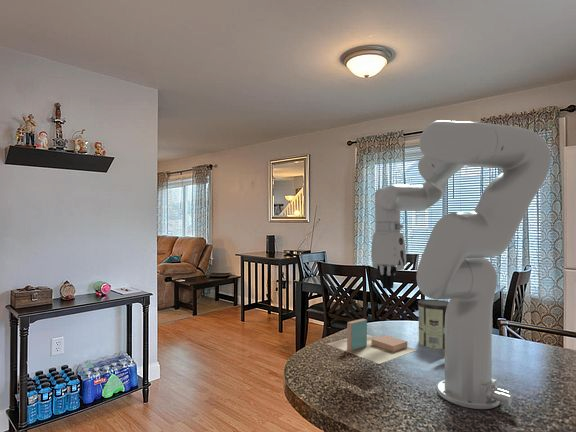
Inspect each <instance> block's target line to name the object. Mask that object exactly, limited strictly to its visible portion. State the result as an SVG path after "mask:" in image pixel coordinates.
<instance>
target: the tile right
mask: <svg viewBox="0 0 576 432" xmlns="http://www.w3.org/2000/svg"><path fill="white" fill-rule="evenodd" d="M376 337H377V336H376ZM371 344H372V345H374V346H377V347H380V348H383V349H386V350H389V351H392V352H395V351H398V350H401V349H404V348H406V347H408V341H407V340H404V339H400V338H398V337H393V336H390V335H386V334H384V335H381V336H378V337H377V338H374V339H371Z"/></svg>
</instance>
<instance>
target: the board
mask: <svg viewBox="0 0 576 432" xmlns="http://www.w3.org/2000/svg"><path fill="white" fill-rule="evenodd" d="M374 338H377V336H374V335H370V334H367V346H366V347H362V348H359V349H356V350H353V351H350V350H347V338H344V339H340V340H337V341H332V342H329V343H326V345H327V346H331V347H333V348H335V349H338V350H341V351H344V352H346V353H348V354H349V353H350V354H351V355H354V356H356V357H360V358H362V359H365V360H367V361H370V362H373V363H375V364H378V365H380V364H383V363H387V362H388V361H391V360H394V359H397V358H399V357H402V356H405V355H408V354H410V353H413V352H416V351H417V349H416V348H413V347H409V346H407V347H406V348H404V349H401V350H398V351H395V352H392V351H389V350H386V349H383V348H380V347H377V346H374V345H372V344H371V339H374Z"/></svg>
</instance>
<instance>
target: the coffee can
mask: <svg viewBox="0 0 576 432" xmlns="http://www.w3.org/2000/svg"><path fill="white" fill-rule="evenodd" d="M448 303H449V301H447V300H444V299H431V298H429V299H428V298H427V299H420V300H418V301H417V304H418V344H419V345H421V346H423V347H426V348H430V349H436V350H445V313H446V308H447V306H448Z"/></svg>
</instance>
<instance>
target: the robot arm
mask: <svg viewBox="0 0 576 432" xmlns="http://www.w3.org/2000/svg"><path fill="white" fill-rule="evenodd" d="M419 149H420V151H421V153H422V154H423V156H422V157H420V159H419V160H418V164H417V169H418V172H419V174H420V176H421V178H422V179H423V180H424V181H425V182H424V183H422V184H421V185H415V184H414V185H413V184H411V185H410V184H390V185H388V186H386V187H383V188H382V187H381V188H379V189H376V190H375V192H374V232H373V235H372V241H371V250H370V251H371V254H370V256H371V259H370V260H371V262H372V267H373V268H374V269H376V270H378V272H379V273H380V275H381V279H382V280H381V282H382V283H381V284H382V289H386V290H388V289H389V290H391V289H393V288H394V284H395V283H394V281H395V280H394V279H395V278H394V277H395V275H396V273H397V272H398V271H403V270H404V269H405V266H404V265H406V264H407V249H406V243H405V242H406V241H405V236H404V233H403V232H401V230H403V229H404V224H403V223H402V224H401V212H404V211H406V212H407V211H408V212H409V211H410V212H411V211H412V212H422V211H425V210H427V209H429V208H430V207H432V206H435V204H437V203H438V202H439V201H440V200H441V199H442V198H443V196H444V195H445V192H446V190H447V183H448V180H449V179H450V178H452V177H453V176H454V175H455V174H456V173H458V172H459V171H460V170H461V169H463V168H464V167H465V166H467V167H475V168H476V167H477V168H478V167H480V168H490V169H491V168H492V169H501V172H500V173H499V174H498V175H497V176H496V177H495V178H493V180H492V181H490V183H489V184H488V185H487V186H486V187H485V189H484V190H483V192H482V194H481V196H480V199H479V201H478V203H477V205H476V207H475V208H474V209H473V210H472V211H469V212H467V211H464V212H462V211H456V212H450V213H446V214H445V215H443V216H442V217H441V218H439V220H438V221H436V223H435V225H434V226H433V228H432V231H431V233H430V235H429V238H428V240H427V242H426V245H425V247H424V250H423V251H422V255H421V256H420V260H419V263H418V264H417V265H418V266H417V269H416V283H417V284H416V285H417V287H418V289H419V291H420V292H421V294H422V295H424V296H425V297H426V298H429V299H434V300H449V301H448V302H449V303H448V306H447V308H446V313H445V349H444V380H442V381H439V382H438V384H437V386H436V387H437V389H436V390H437V392H438V395H439V396H440V397H441V398H442V399H444V400H446V401H448V402H449V403H452V404H455V405H457V406H460V407H463V408H468V409H472V410H473V409H476V410H490V409H491V410H492V409H494V408H496V407H498V406H499V405H500V404H501V403H502V404H505V405H506V406H511V405H512V402H513V396H512V395H511V391H509V390H506V389H502V388H500V387H499V386H497V382H498V381H497V379H495V378H493V376H492V374H493V373H492V371H493V370H492V368H493V365H492V364H493V363H492V362H493V359H492V358H493V355H492V353H493V352H492V350H493V343H492V341H493V340H492V338H493V337H492V336H493V335H492V334H493V333H492V332H493V331H492V330H493V308H494V307H493V306H494V300H495V294H496V291H497V286H498V285H497V284H498V273H497V270H496V269H495V266H494V264H493V263H492V262H491V261H490V260H488V259H487V258H494V257H497V256H498V257H499V256H501V255H502V254H504V252H505V251H507V248H509V246H510V244H511V242H512V240H513V237H514V236H515V234H516V233H517V230H518V228H519V226H520V225H521V223H522V221H523V219H524V217H525V214H526V212H527V211H528V209H529V207H530V205H531V203H532V202H533V199H534V198H535V197H536V195H537V193H538V192H539V190H541V188H542V185H543V184H544V183H545V181H546V179H547V176H548V174H549V171H550V168H551V161H552V160H551V158H552V157H551V150H550V147H549V146H548V144H547V142H546V140H545V138H543V136H541V135H540V134H539V133H538V132H535V131H533V130H530V129H528V128H524V127H520V126H516V125H515V126H513V125H507V124H505V125H503V124H495V123H488V122H479V121H476V122H475V121H459V120H458V121H456V120H452V121H451V120H443V119H441V120H435V121H433V122H430V123H429V124H428V125H427V126H426V127H425V128H424V129H423V131H422V133H421V134H420V137H419Z"/></svg>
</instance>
